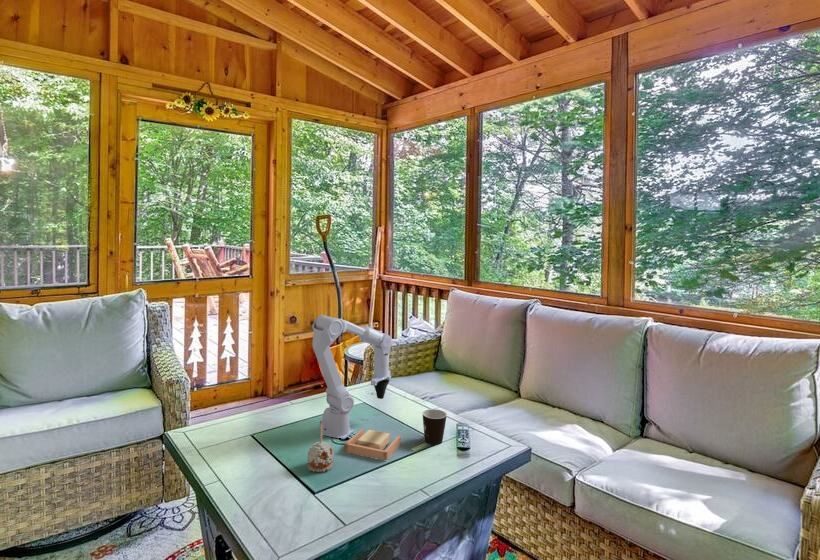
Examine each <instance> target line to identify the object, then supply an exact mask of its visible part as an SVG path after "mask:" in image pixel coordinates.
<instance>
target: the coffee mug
mask: <svg viewBox="0 0 820 560" xmlns="http://www.w3.org/2000/svg"><path fill="white" fill-rule="evenodd" d="M447 416H448V415H447V412H446V411H443V410H441V409H436V408H433V409H432V408H431V409H430V408H429V409H425V410H424V411H422V422H423V423H422V425H423V436H424V438H423V439H424V442H425V443H426V444H428V445H432V446H438V445H440V444H442V443H443V440H444V433H445V428H446V422H447Z"/></svg>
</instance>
